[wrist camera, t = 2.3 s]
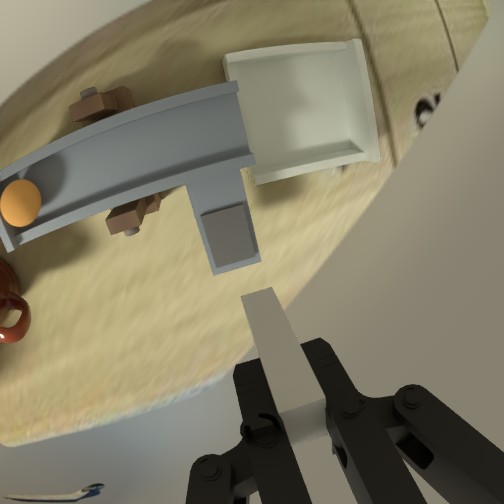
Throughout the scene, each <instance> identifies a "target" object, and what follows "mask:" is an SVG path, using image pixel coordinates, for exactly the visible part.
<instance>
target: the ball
mask: <svg viewBox="0 0 504 504" xmlns="http://www.w3.org/2000/svg"><path fill="white" fill-rule="evenodd" d="M0 208H1V212H2V215H3V217H4V219H5V220H6V221H7V222H8V223H9V224H11V225H13V226H17V227H22V226H26V225H28V224H30V223H31V222H33V221H34V220H35V218H36V217H37V216H38V214H39V211H40V208H41V195H40V192H39V190H38V188H37V187H36V185H35V184H33V183H32V182H31V181H28V180H25V179H20V180H16V181H13V182H12V183H10V184H9V185H8V186H7V187H6V188H5V190H4V192H3V194H2V197H1V201H0Z"/></svg>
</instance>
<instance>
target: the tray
mask: <svg viewBox="0 0 504 504" xmlns="http://www.w3.org/2000/svg"><path fill="white" fill-rule="evenodd" d="M221 61H222V65H223V69H224V73H225V78H226V82H229V81H234V80H237V83H238V87H239V92H236V93H237V97H238V101H239V105H240V110H241V114H242V118H243V123H244V127H245V131H246V136H247V140H248V145H249V149H250V152H252V153H254V157H255V162H256V165H253V166H249V167H247V171H248V176H249V179H250V180H251V181H252V182H253V183H254V184H255V185H256V186H257V185H261V184H265V183H269V182H273V181H277V180H281V179H285V178H289V177H293V176H297V175H301V174H305V173H309V172H314V171H318V170H322V169H327V168H331V167H336V166H340V165H345V164H350V163H354V162H359V161H364V160H366V161H369V162H372V163H377V162H381V161H380V151H379V142H378V133H377V125H376V118H375V111H374V104H373V98H372V92H371V86H370V80H369V75H368V70H367V65H366V60H365V55H364V50H363V46H362V42H361V39H351V40H348V41H345V42H317V43H302V44H291V45H281V46H273V47H265V48H258V49H251V50H245V51H239V52H233V53H228V54H225V56H224V57H223V59H222V60H221Z"/></svg>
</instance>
